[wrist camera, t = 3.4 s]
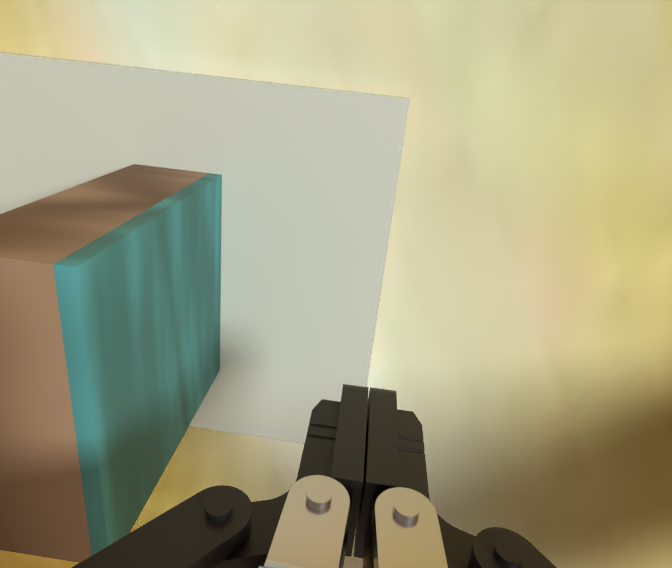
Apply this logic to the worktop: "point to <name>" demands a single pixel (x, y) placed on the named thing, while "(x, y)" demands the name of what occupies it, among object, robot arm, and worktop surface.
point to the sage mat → (236, 209)
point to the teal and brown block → (102, 350)
